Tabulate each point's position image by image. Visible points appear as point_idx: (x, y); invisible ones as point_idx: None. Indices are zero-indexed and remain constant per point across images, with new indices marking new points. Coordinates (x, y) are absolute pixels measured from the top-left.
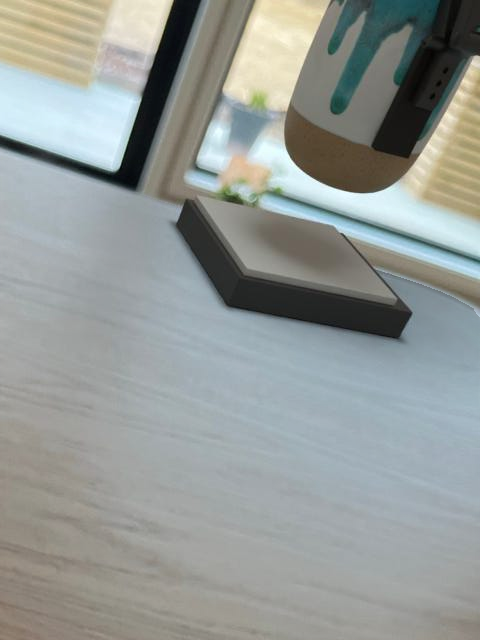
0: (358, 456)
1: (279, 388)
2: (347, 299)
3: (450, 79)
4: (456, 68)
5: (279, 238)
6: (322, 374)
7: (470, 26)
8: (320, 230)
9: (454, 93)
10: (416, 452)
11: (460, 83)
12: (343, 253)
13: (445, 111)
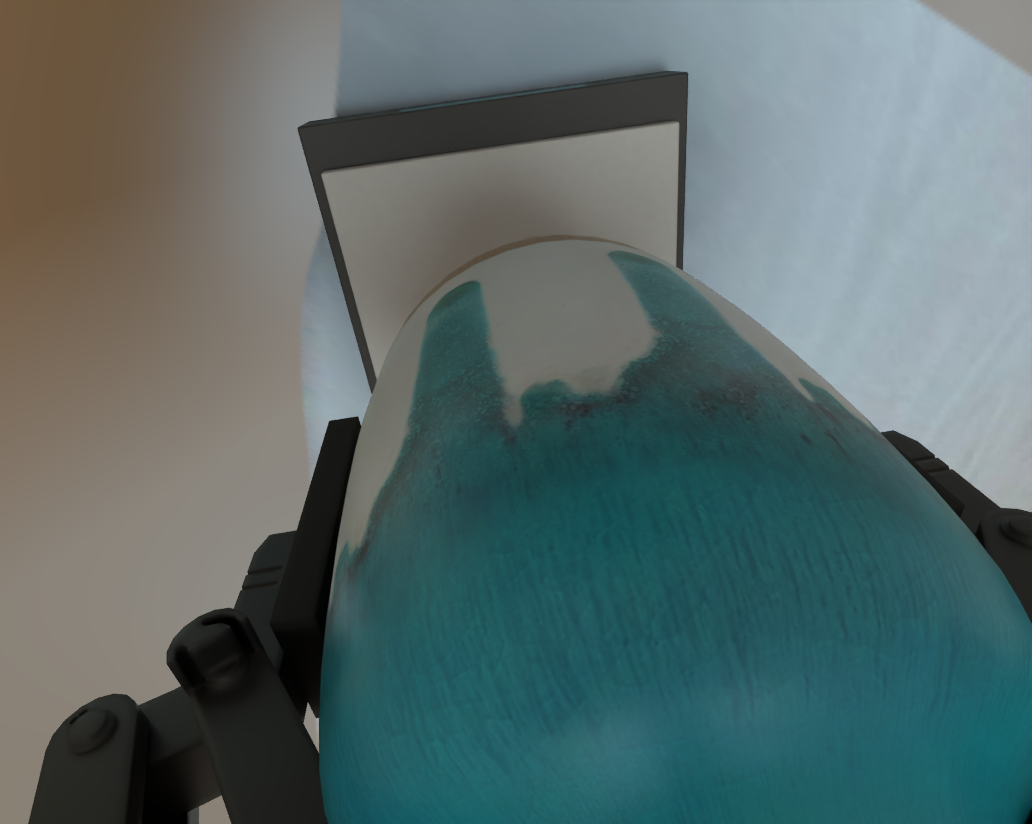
0: (1019, 295)
1: (872, 367)
2: (683, 236)
3: (969, 484)
4: (999, 507)
5: None
6: (830, 292)
7: None
8: (389, 226)
9: (775, 337)
10: (1022, 194)
11: (765, 333)
12: (495, 199)
13: (732, 304)
